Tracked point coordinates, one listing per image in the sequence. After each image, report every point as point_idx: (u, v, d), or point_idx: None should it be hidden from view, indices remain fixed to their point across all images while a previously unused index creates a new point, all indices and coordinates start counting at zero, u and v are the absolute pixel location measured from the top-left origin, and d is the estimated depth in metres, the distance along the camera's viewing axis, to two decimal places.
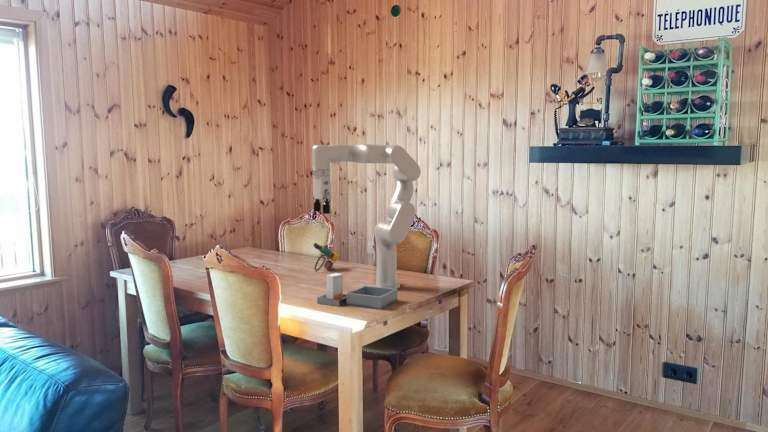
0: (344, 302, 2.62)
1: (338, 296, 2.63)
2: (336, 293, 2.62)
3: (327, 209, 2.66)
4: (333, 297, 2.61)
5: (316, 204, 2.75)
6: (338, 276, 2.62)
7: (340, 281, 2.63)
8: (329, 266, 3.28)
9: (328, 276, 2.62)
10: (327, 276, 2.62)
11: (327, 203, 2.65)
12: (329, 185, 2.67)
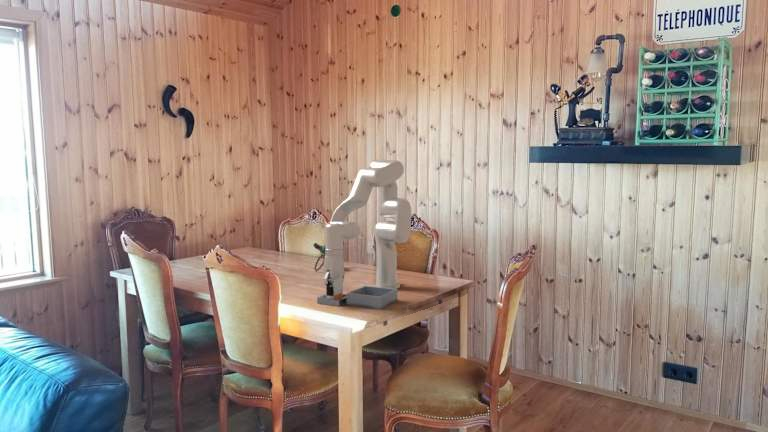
0: (344, 302, 2.62)
1: (338, 296, 2.63)
2: (336, 293, 2.62)
3: None
4: (333, 297, 2.61)
5: None
6: None
7: (340, 281, 2.63)
8: None
9: None
10: None
11: None
12: None
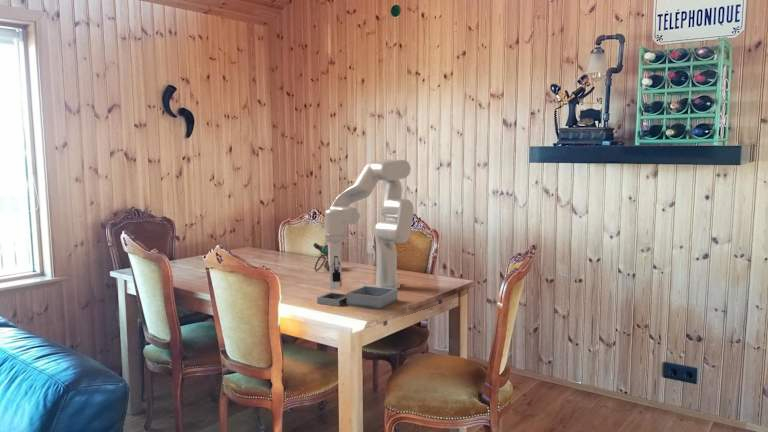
0: (344, 302, 2.62)
1: (340, 281, 2.64)
2: (340, 278, 2.63)
3: None
4: (339, 282, 2.62)
5: None
6: None
7: (340, 266, 2.65)
8: None
9: None
10: None
11: None
12: None
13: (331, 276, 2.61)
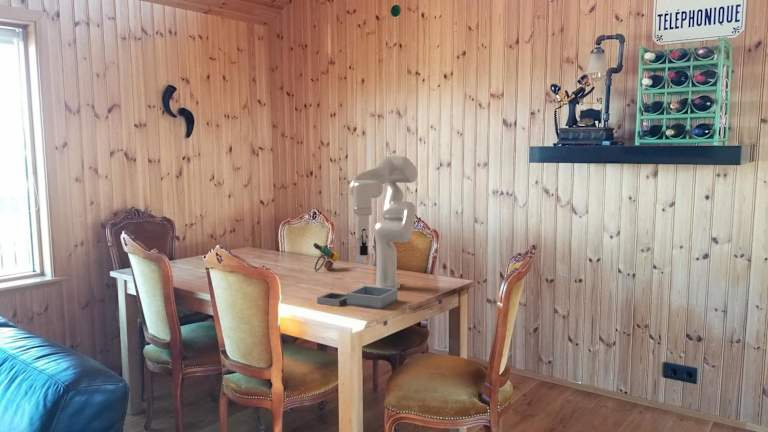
0: (344, 302, 2.62)
1: (367, 255, 2.62)
2: None
3: None
4: (366, 256, 2.59)
5: None
6: None
7: (368, 240, 2.62)
8: (329, 266, 3.28)
9: None
10: None
11: None
12: None
13: (358, 249, 2.59)
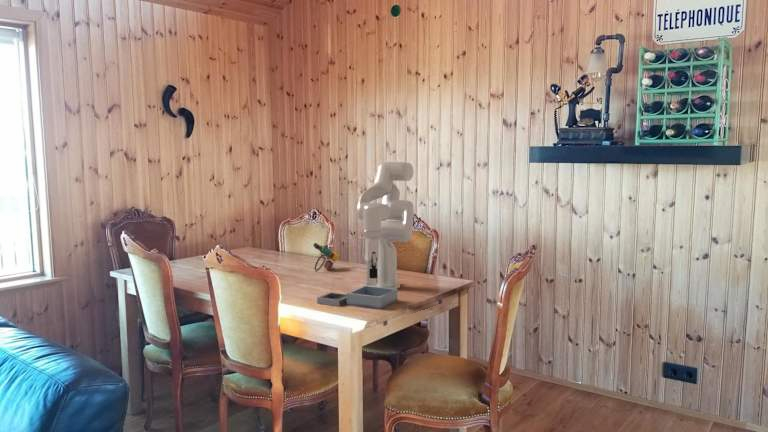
0: (344, 302, 2.62)
1: None
2: None
3: None
4: (375, 279, 2.59)
5: None
6: None
7: (377, 263, 2.63)
8: (329, 266, 3.28)
9: None
10: None
11: None
12: None
13: (368, 272, 2.59)
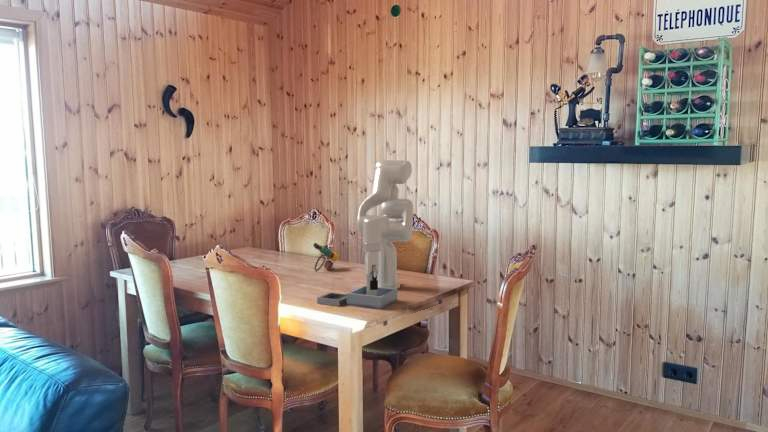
0: (344, 302, 2.62)
1: None
2: (376, 290, 2.62)
3: None
4: (376, 295, 2.61)
5: None
6: None
7: None
8: (329, 266, 3.28)
9: (369, 275, 2.60)
10: (368, 275, 2.60)
11: None
12: None
13: (368, 288, 2.60)
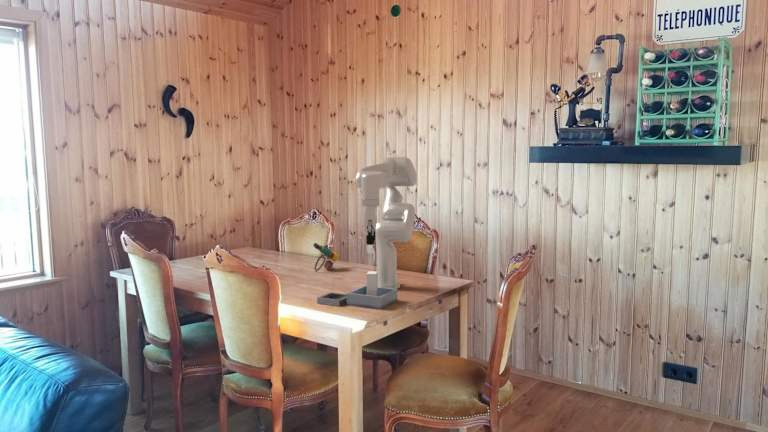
0: (344, 302, 2.62)
1: None
2: (376, 290, 2.62)
3: None
4: (376, 295, 2.61)
5: None
6: (377, 273, 2.63)
7: (377, 278, 2.64)
8: (329, 266, 3.28)
9: (369, 275, 2.60)
10: (368, 275, 2.60)
11: None
12: None
13: (368, 288, 2.60)
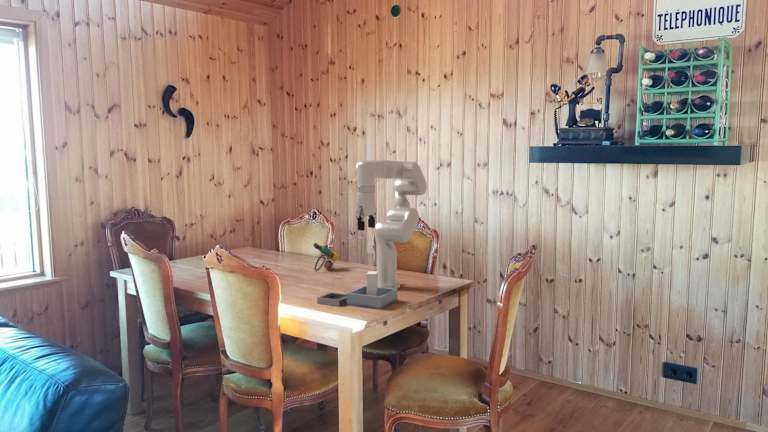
0: (344, 302, 2.62)
1: None
2: (376, 290, 2.62)
3: None
4: (376, 295, 2.61)
5: None
6: (377, 273, 2.63)
7: (377, 278, 2.64)
8: (329, 266, 3.28)
9: (369, 275, 2.60)
10: (368, 275, 2.60)
11: None
12: None
13: (368, 288, 2.60)
